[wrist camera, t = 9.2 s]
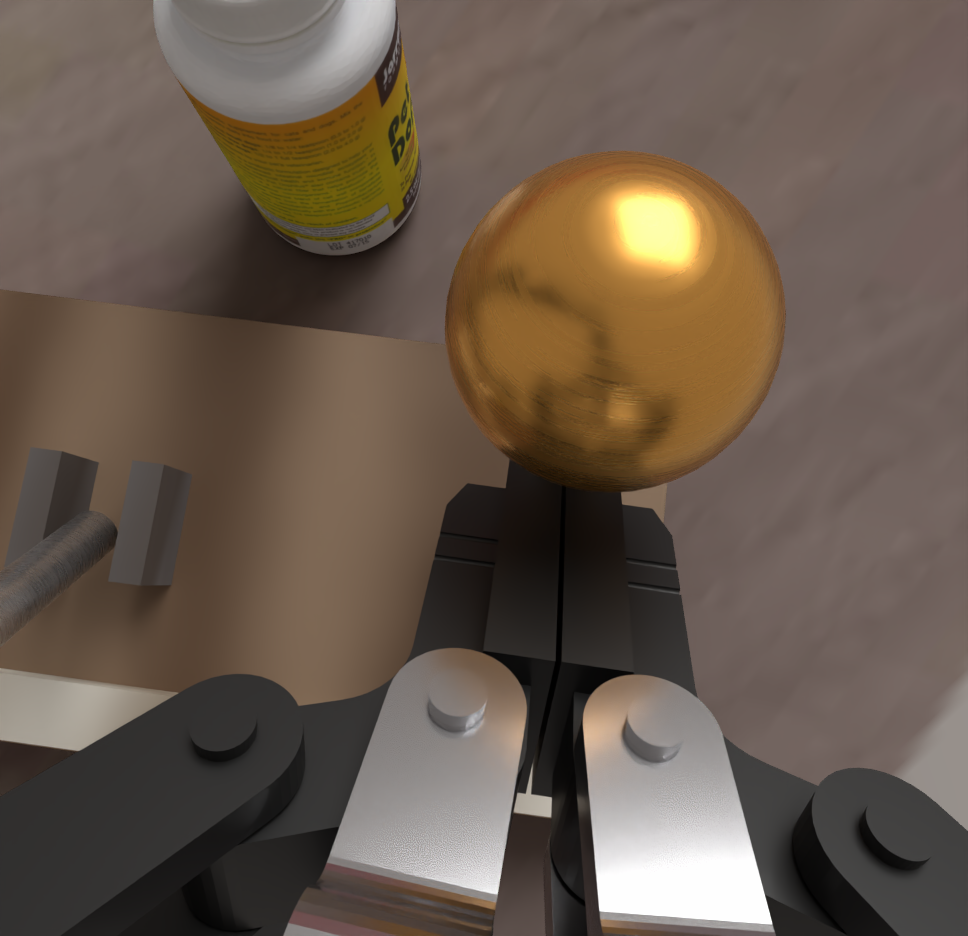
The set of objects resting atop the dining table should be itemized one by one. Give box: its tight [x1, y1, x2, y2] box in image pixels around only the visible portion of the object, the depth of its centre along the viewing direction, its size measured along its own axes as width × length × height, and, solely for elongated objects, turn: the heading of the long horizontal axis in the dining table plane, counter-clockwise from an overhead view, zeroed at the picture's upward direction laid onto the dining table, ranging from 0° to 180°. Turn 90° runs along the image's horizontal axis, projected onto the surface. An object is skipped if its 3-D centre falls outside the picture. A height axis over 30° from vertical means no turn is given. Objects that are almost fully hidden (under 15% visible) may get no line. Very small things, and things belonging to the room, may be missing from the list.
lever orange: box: [445, 151, 786, 493], centre depth 13 cm, size 3×3×13 cm
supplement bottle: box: [153, 0, 421, 255], centre depth 20 cm, size 6×6×10 cm
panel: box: [0, 290, 667, 819], centre depth 21 cm, size 25×12×5 cm, turn 83°
